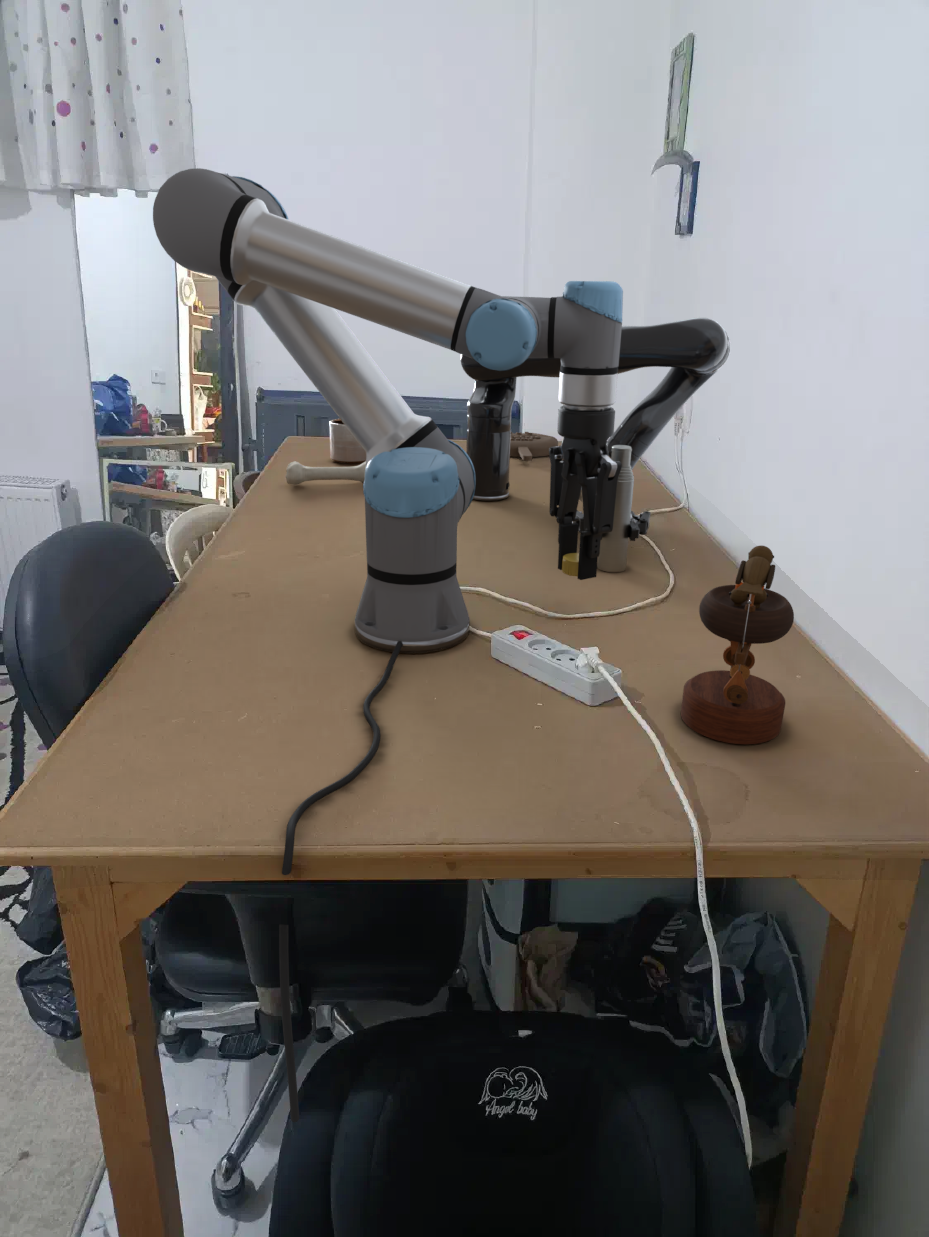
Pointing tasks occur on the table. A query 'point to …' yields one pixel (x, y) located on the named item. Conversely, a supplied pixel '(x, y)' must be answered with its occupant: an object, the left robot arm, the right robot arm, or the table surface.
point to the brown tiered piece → (740, 658)
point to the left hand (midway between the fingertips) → (576, 572)
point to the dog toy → (323, 473)
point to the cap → (570, 564)
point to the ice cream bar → (530, 445)
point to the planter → (344, 444)
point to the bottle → (619, 516)
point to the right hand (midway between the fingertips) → (617, 534)
